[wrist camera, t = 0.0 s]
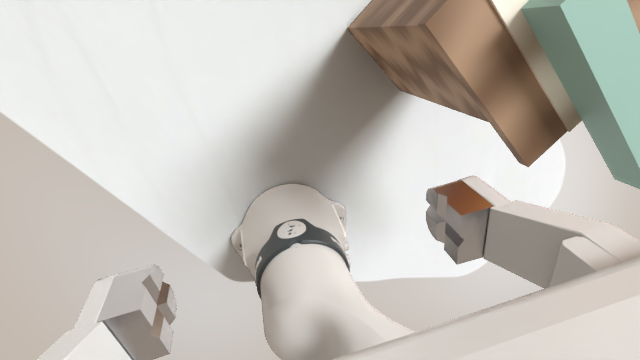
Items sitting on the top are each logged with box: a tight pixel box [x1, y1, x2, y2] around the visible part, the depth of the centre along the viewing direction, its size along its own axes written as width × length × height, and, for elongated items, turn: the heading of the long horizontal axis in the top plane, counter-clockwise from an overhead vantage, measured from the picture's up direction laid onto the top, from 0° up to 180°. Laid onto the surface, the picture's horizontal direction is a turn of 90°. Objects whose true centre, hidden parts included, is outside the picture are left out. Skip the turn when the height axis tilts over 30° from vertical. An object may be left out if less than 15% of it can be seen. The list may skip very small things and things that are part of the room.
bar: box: [521, 0, 640, 189], centre depth 24 cm, size 19×4×3 cm, turn 46°
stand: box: [348, 0, 640, 167], centre depth 35 cm, size 15×14×26 cm
